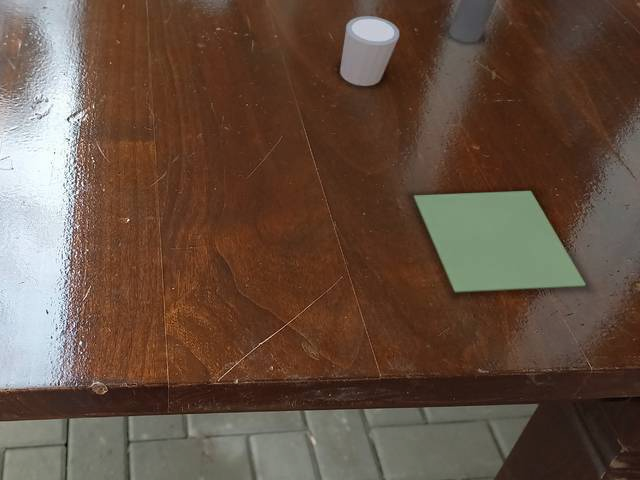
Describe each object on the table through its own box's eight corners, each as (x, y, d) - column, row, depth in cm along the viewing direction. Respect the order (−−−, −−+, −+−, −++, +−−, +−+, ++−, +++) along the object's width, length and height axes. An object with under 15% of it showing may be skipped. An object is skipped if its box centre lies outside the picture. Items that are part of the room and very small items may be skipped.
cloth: (529, 193, 81) (531, 190, 81) (583, 287, 72) (586, 285, 72) (412, 198, 80) (414, 195, 80) (453, 294, 71) (455, 291, 71)
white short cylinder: (340, 90, 93) (352, 44, 88) (330, 60, 97) (341, 15, 92) (390, 90, 93) (406, 44, 88) (378, 60, 98) (392, 15, 92)
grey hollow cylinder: (450, 42, 101) (476, -26, 93) (446, 25, 104) (471, -42, 96) (482, 45, 100) (511, -23, 92) (477, 28, 103) (505, -39, 95)
